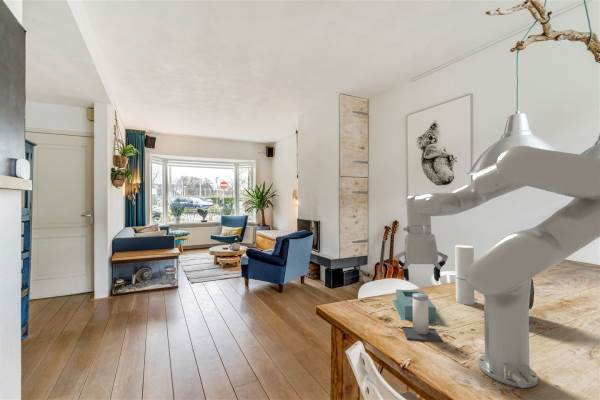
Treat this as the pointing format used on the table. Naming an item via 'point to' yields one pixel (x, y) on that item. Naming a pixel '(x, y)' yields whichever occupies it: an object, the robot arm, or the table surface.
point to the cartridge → (420, 313)
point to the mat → (422, 335)
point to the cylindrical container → (464, 274)
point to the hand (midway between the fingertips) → (421, 279)
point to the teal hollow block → (411, 305)
